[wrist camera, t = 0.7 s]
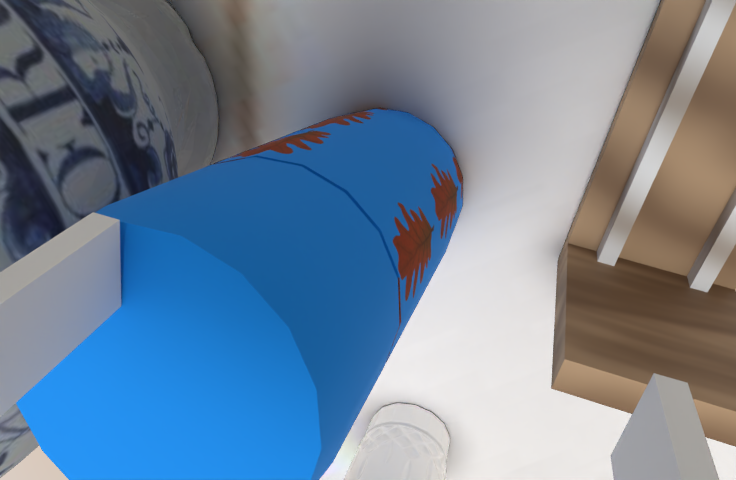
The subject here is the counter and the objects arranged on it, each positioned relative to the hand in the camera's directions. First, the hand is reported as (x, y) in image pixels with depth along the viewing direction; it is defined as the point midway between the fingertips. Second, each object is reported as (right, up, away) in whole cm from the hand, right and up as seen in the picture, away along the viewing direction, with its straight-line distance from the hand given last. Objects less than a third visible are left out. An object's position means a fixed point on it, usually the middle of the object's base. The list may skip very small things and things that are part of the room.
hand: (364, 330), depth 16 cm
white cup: (+4, -14, +37) cm, 39 cm away
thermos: (+1, +6, +25) cm, 26 cm away
